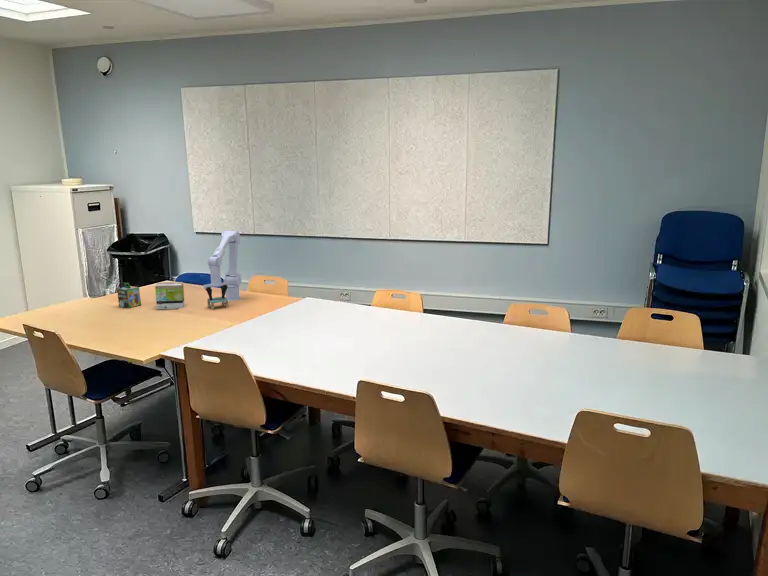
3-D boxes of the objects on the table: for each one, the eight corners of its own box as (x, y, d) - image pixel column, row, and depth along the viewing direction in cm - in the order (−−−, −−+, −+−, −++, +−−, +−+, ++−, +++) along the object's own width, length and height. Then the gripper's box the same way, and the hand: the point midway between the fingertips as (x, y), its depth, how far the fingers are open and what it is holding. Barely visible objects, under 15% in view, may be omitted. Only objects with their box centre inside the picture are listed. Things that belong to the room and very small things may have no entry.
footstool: (207, 306, 339) (207, 298, 337) (223, 304, 345) (223, 296, 343) (212, 309, 333) (211, 301, 332) (228, 307, 339) (227, 299, 338)
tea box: (156, 310, 334) (154, 285, 331) (159, 306, 343) (157, 282, 340) (183, 308, 337) (181, 284, 334) (185, 304, 347) (183, 281, 344)
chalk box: (141, 305, 345) (139, 281, 342) (128, 308, 337) (126, 284, 334) (131, 303, 349) (128, 280, 346) (118, 306, 341) (115, 283, 338)
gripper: (206, 279, 328) (207, 301, 331) (230, 276, 337) (231, 298, 339) (201, 277, 333) (203, 299, 336) (225, 274, 342) (226, 296, 345)
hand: (217, 298), depth 338 cm, fingers open, 7 cm apart
